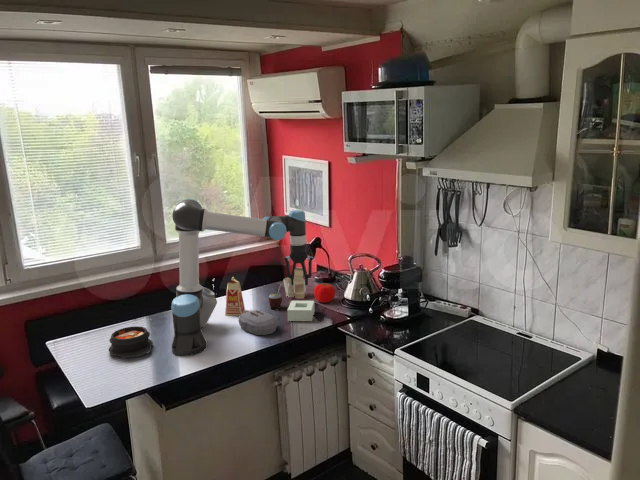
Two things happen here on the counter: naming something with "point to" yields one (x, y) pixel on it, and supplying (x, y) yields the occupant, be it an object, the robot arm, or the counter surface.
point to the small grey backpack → (258, 322)
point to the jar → (207, 305)
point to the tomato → (324, 292)
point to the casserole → (130, 342)
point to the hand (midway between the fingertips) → (299, 291)
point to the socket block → (301, 311)
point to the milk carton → (234, 299)
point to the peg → (299, 282)
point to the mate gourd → (275, 299)
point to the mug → (289, 287)
